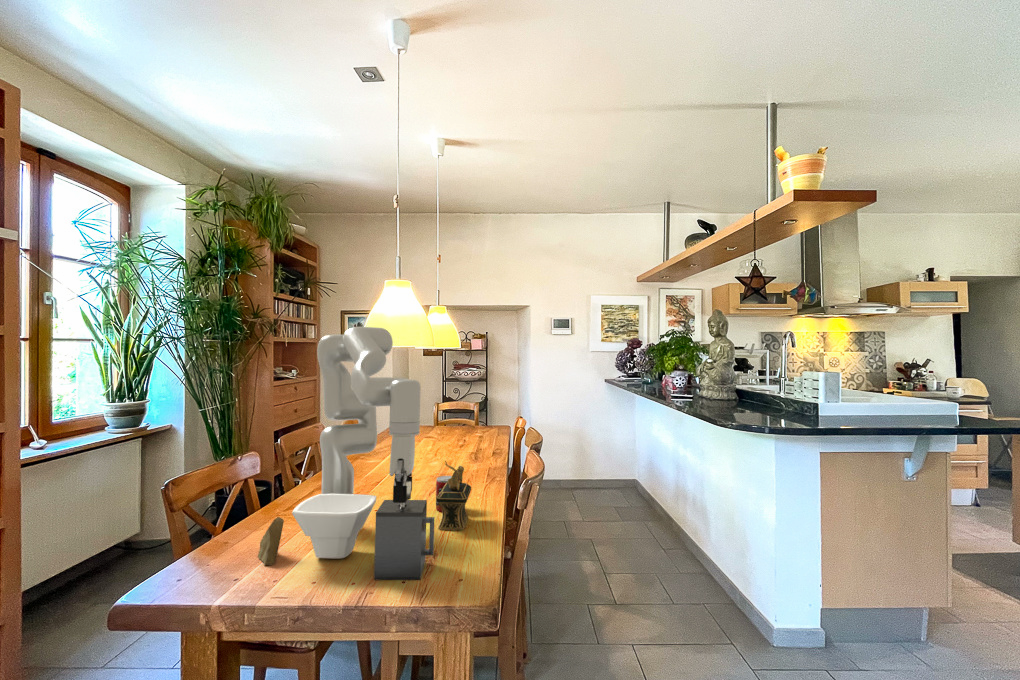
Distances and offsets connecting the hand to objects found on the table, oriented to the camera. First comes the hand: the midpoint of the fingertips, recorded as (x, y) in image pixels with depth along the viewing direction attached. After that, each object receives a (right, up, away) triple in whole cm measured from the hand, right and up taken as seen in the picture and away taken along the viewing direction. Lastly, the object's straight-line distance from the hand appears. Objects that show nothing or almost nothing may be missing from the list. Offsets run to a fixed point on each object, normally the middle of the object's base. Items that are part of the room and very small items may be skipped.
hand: (402, 496), depth 130 cm
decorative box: (+9, -20, +35) cm, 41 cm away
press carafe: (+1, -18, -1) cm, 18 cm away
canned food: (+5, -20, +52) cm, 56 cm away
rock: (-37, -18, +5) cm, 41 cm away
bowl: (-20, -18, +8) cm, 28 cm away
